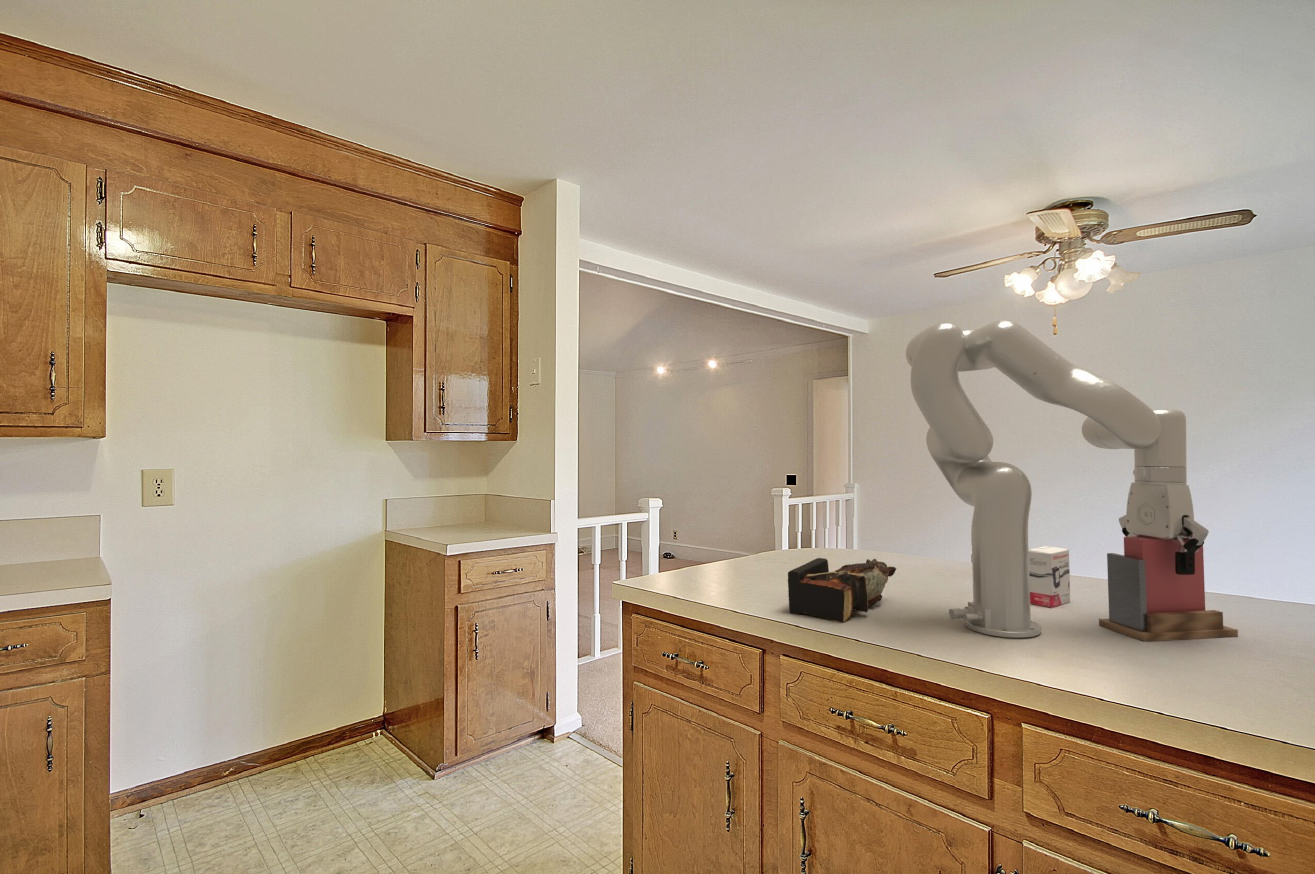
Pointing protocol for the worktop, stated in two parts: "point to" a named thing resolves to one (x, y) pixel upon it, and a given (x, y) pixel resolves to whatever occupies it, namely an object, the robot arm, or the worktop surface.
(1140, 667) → the worktop surface
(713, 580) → the worktop surface
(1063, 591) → the ink box
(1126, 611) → the steel bookend
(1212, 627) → the book rack
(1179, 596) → the book
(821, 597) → the bookend
